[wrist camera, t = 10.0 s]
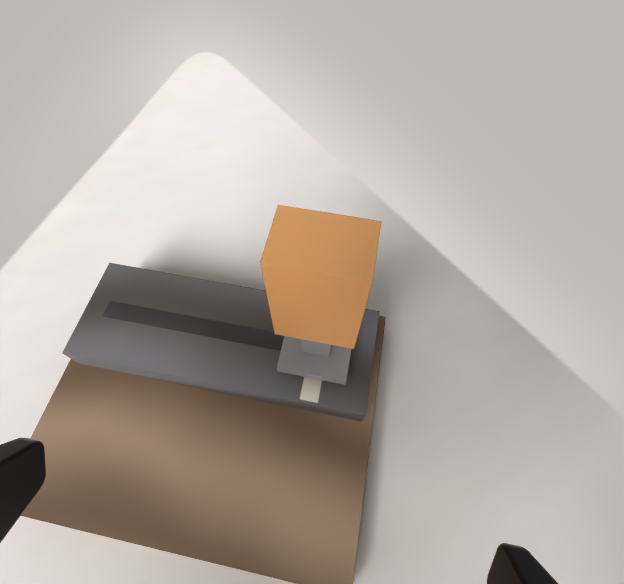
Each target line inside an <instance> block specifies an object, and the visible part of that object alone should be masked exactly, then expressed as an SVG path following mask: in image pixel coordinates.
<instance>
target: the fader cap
mask: <svg viewBox="0 0 624 584" xmlns="http://www.w3.org/2000/svg"><path fill="white" fill-rule="evenodd" d="M380 228H381V221H376V220H370V219H363V218H357V217H351V216H345V215H338V214H332V213H326V212H319V211H313V210H307V209H301V208H294V207H288V206H282V205H278V207H277V210H276V213H275V216H274V219H273V223H272V226H271V229H270V232H269V235H268V239H267V242H266V245H265V248H264V252H263V255H262V258H261V261H260V264H261V269H262V273H263V278H264V283H265V288H266V293H267V298H268V303H269V308H270V313H271V318H272V323H273V328H274V332H275V334H277V335H282V336H284V340H283V344H282V348H281V352H280V356H279V360H278V364H277V371H278V372H283V373H288V374H293V375H298V376H303V377H308V378H313V379H318V380H323V381H328V382H333V383H338V384H343V385H345V384H346V380H347V373H348V367H349V361H350V355H351V349H354V347H355V343H356V340H357V336H358V332H359V329H360V325H361V322H362V318H363V314H364V311H365V307H366V304H367V300H368V296H369V293H370V289H371V286H372V282H373V276H374V269H375V262H376V255H377V249H378V242H379V235H380Z"/></svg>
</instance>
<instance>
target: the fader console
mask: <svg viewBox="0 0 624 584" xmlns="http://www.w3.org/2000/svg"><path fill="white" fill-rule="evenodd" d="M385 318H386V317H383V316H379V311H375V310H369V309H365V311H364V314H363V318H362V322H361V325H360V329H359V332H358V336H357V340H356V343H355V347H354V349H351V355H350V361H349V367H348V373H347V380H346V384H345V385H343V384H338V383H333V382H328V381H323V380H318V379H313V378H308V377H303V376H298V375H293V374H288V373H283V372H278V371H277V364H278V360H279V356H280V352H281V348H282V344H283V340H284V336H282V335H277V334H275V332H274V328H273V323H272V318H271V313H270V308H269V303H268V298H267V293H266V291H263V290H258V289H252V288H247V287H241V286H236V285H230V284H225V283H219V282H213V281H208V280H202V279H197V278H191V277H186V276H180V275H175V274H169V273H163V272H158V271H152V270H147V269H141V268H136V267H130V266H125V265H119V264H113V263H109V265H108V267H107V269H106V271H105V272H104V274H103V276H102V278H101V280H100V282H99V284H98V286H97V288H96V290H95V292H94V294H93V295H92V297H91V299H90V301H89V303H88V305H87V307H86V309H85V311H84V313H83V315H82V316H81V318H80V320H79V322H78V324H77V326H76V328H75V330H74V332H73V334H72V336H71V337H70V339H69V341H68V343H67V345H66V347H65V349H64V351H63V354H64V355H66V356H68V357H69V358H71V360H70V362H69V364H68V366H67V368H66V370H65V372H64V374H63V375H62V377H61V379H60V381H59V383H58V385H57V387H56V389H55V391H54V393H53V395H52V397H51V399H50V401H49V403H48V405H47V407H46V409H45V411H44V413H43V415H42V417H41V419H40V421H39V423H38V425H37V427H36V429H35V430H34V432H33V434H32V436H31V438H30V439H33V440H38V441H40V442H42V443H43V445H44V448H45V464H46V477H45V480H44V483H43V485H42V487H41V488H40V490H39V491H38V492H37V494H36V495H35V497H34V498H33V499H32V501H31V502H30V503H29V505H28V506H27V507H26V509H25V510H24V511H23V513H22V514H21V516H25V517H29V518H33V519H37V520H41V521H45V522H49V523H53V524H57V525H61V526H65V527H69V528H73V529H77V530H81V531H86V532H90V533H94V534H98V535H102V536H106V537H110V538H114V539H118V540H122V541H126V542H130V543H134V544H138V545H142V546H147V547H151V548H155V549H159V550H163V551H167V552H171V553H175V554H179V555H183V556H187V557H191V558H195V559H199V560H203V561H208V562H212V563H216V564H220V565H224V566H228V567H232V568H236V569H240V570H244V571H248V572H252V573H256V574H260V575H264V576H269V577H273V578H277V579H281V580H285V581H289V582H293V583H297V584H353V577H354V569H355V561H356V553H357V545H358V537H359V528H360V520H361V512H362V504H363V496H364V488H365V480H366V472H367V464H368V455H369V447H370V439H371V431H372V423H373V415H374V407H375V399H376V391H377V383H378V374H379V366H380V358H381V350H382V342H383V334H384V326H385Z"/></svg>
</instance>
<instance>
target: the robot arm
mask: <svg viewBox="0 0 624 584" xmlns="http://www.w3.org/2000/svg"><path fill="white" fill-rule="evenodd" d="M45 477H46V464H45V448H44V445H43V443H42V442H40V441H38V440H33V439H29V438H18V439H15V440H13V441H10V442H7V443H4V444H1V445H0V543H1V541H2V540H3V539H4V537H5V536H6V535H7V533H8V532H9V530H10V529H11V528H12V526H13V525H14V524H15V522H16V521H17V520H18V518H19V517H20V516H21V514H22V513H23V511H24V510H25V509H26V507H27V506H28V505H29V503H30V502H31V501H32V499H33V498H34V497H35V495H36V494H37V492H38V491H39V490H40V488H41V487H42V485H43V483H44V480H45ZM487 584H558V583H557V582H556V581H555V580H554V579H553V577H552V576H551V575H550V574H549V573H548V572H547V571H546V570H545V569H544V568H543V567H542V565H541V564H540V563H539V562H538V561H537V560H536V559H535V558H534V557H533V556H532V555H531V553H530V552H529V551H528V550H526V549H525V548H523V547H520V546H516V545H511V544H507V543H502V544H500V545H499V546H498V548H497V551H496V554H495V557H494V559H493V562H492V565H491V568H490V570H489V573H488V577H487Z"/></svg>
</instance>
